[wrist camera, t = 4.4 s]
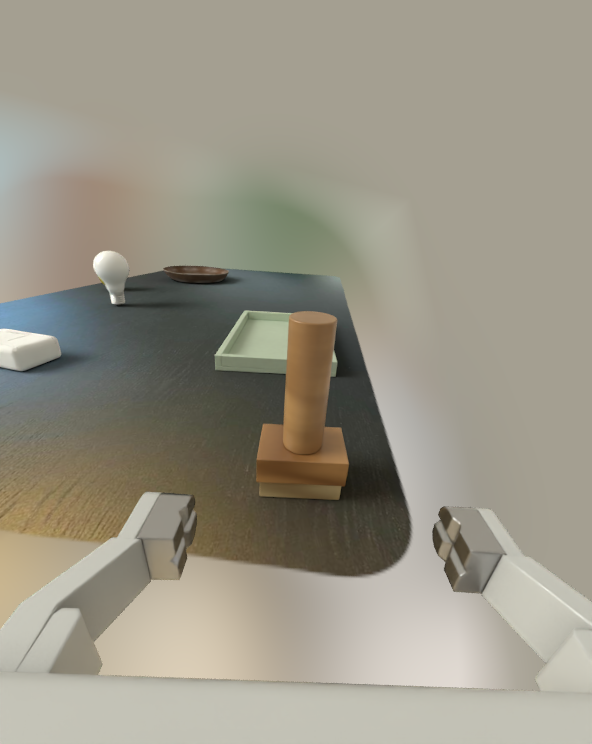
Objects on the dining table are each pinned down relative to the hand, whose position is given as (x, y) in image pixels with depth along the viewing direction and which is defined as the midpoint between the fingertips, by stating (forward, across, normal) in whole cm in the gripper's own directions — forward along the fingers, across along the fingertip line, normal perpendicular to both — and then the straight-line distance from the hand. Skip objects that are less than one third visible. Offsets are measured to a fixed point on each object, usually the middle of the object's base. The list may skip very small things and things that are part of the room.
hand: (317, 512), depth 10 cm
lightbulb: (+58, +39, +9) cm, 71 cm away
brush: (+10, 0, +8) cm, 13 cm away
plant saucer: (+98, +34, +9) cm, 104 cm away
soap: (+28, +36, +9) cm, 47 cm away
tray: (+40, +3, +8) cm, 41 cm away
